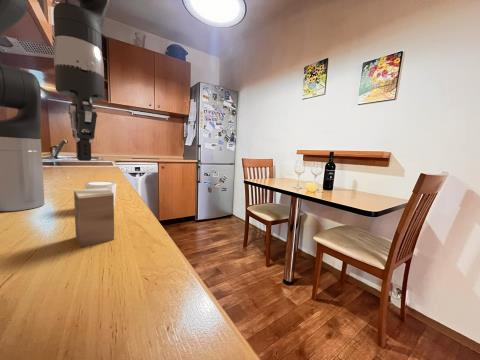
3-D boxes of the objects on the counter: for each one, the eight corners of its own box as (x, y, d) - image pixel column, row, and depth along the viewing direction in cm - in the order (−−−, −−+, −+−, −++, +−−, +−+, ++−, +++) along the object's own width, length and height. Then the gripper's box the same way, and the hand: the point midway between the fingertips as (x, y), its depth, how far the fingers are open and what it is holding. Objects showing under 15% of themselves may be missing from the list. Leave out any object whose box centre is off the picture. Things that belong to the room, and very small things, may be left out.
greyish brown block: (75, 237, 37) (73, 190, 36) (107, 231, 41) (106, 188, 40) (80, 247, 34) (78, 196, 33) (114, 239, 38) (113, 193, 36)
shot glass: (101, 213, 50) (100, 186, 49) (78, 210, 52) (77, 183, 51) (122, 206, 57) (122, 182, 56) (102, 203, 58) (101, 180, 57)
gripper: (51, 72, 41) (56, 157, 43) (57, 53, 32) (63, 163, 34) (96, 83, 46) (98, 158, 48) (112, 69, 37) (114, 163, 39)
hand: (84, 160), depth 41 cm, fingers closed
